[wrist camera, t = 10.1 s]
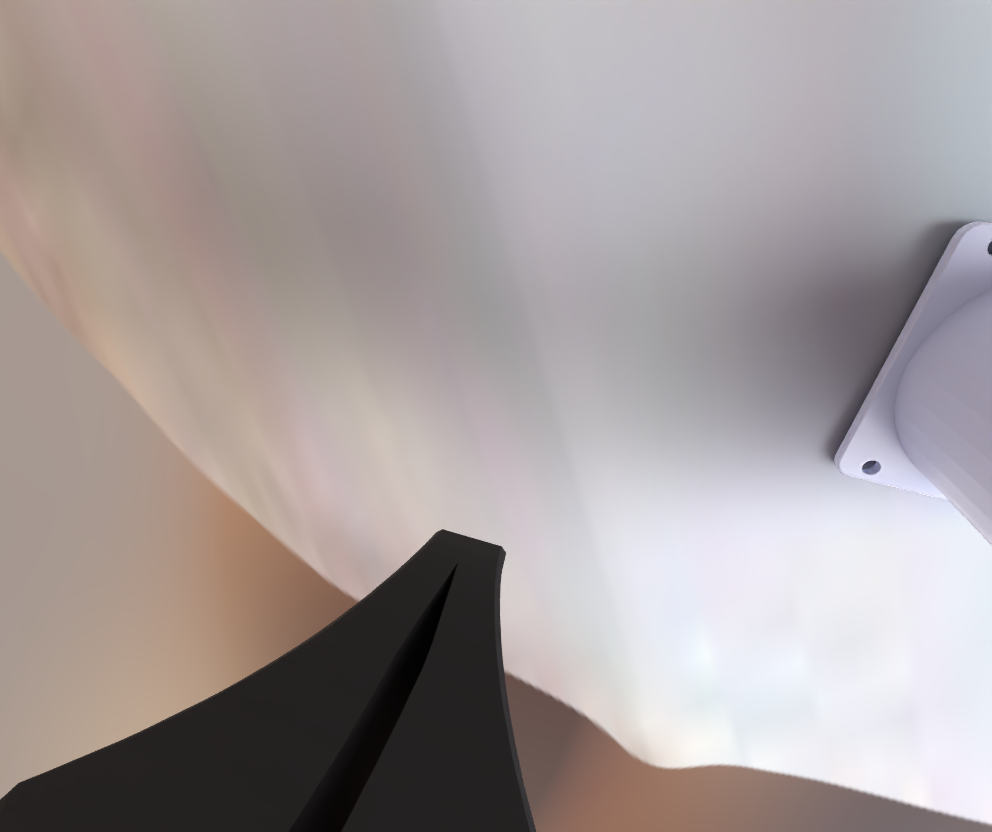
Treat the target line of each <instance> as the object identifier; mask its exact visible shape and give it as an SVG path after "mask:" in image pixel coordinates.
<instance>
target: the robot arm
mask: <svg viewBox="0 0 992 832" xmlns="http://www.w3.org/2000/svg"><path fill="white" fill-rule="evenodd" d="M991 241H992V223H988V222H972V223H969V224H966V225H964V226H963V227H961V228H960V229H958V230H957V232H956V233H955V234H954V235H953V237H952V238H951V240H950V242H949V244H948V246H947V248H946V250H945V251H944V253H943V255H942V257H941V259H940V261H939V263H938V264H937V266H936V268H935V270H934V272H933V274H932V276H931V278H930V279H929V281H928V283H927V285H926V287H925V289H924V291H923V292H922V294H921V296H920V298H919V300H918V302H917V304H916V305H915V307H914V309H913V311H912V313H911V315H910V317H909V319H908V320H907V322H906V324H905V326H904V328H903V330H902V332H901V333H900V335H899V337H898V339H897V341H896V343H895V345H894V347H893V348H892V350H891V352H890V354H889V356H888V358H887V360H886V361H885V363H884V365H883V367H882V369H881V371H880V373H879V374H878V376H877V378H876V380H875V382H874V384H873V386H872V388H871V389H870V391H869V393H868V395H867V397H866V399H865V401H864V402H863V404H862V406H861V408H860V410H859V412H858V414H857V415H856V417H855V419H854V421H853V423H852V425H851V427H850V429H849V430H848V432H847V434H846V436H845V438H844V440H843V442H842V443H841V445H840V447H839V449H838V451H837V453H836V455H835V458H834V461H835V465H836V466H837V468H838V469H839V470H840V472H841V473H843V474H845V475H847V476H851V477H855V478H859V479H863V480H867V481H871V482H875V483H879V484H882V485H886V486H890V487H894V488H898V489H902V490H906V491H910V492H914V493H918V494H922V495H926V496H930V497H934V498H938V499H942V500H946V501H950V502H951V503H952V505H953V506H954V507H955V508H956V509H957V510H958V511H959V512H960V513H961V514H962V515H963V516H964V517H965V518H966V519H967V520H968V521H969V522H970V523H971V524H972V525H973V527H974V528H975V529H976V530H977V531H978V532H979V533H980V534H981V535H982V536H983V537H984V538H985V539H986V540H987V541H988V542H989V543H990V544H991V545H992V254H989V253H988V250H987V249H988V245H989V243H990V242H991ZM868 461H876V463H875V465H874V466H873V467H871V468H868V469H863V468H862V466H863V465H864V464H865V463H866V462H868ZM505 556H506V552H505V551H504V549H503V548H502V546H498V545H495V544H491V543H488V542H484V541H481V540H477V539H474V538H471V537H467V536H464V535H460V534H457V533H453V532H450V531H447V530H443V529H442V530H440V531H438V532H436V533H435V534H434V535H433V537H432V538H431V539H430V540H429V541H428V542H427V543H426V544H425V545H424V546H423V547H422V548H421V549H420V550H419V551H418V552H417V553H416V554H414V555H413V556H412V557H411V558H410V559H409V560H408V561H407V562H406V563H405V564H404V565H403V566H401V567H400V568H399V569H398V570H397V571H396V572H395V573H393V574H392V575H391V576H390V577H389V578H388V579H386V580H385V581H384V582H383V583H382V584H380V585H379V586H378V587H377V588H376V589H375V590H373V591H372V592H371V593H370V594H369V595H367V596H366V597H365V598H364V599H362V600H361V601H360V602H358V603H357V604H356V605H354V606H353V607H352V608H350V609H349V610H348V611H346V612H345V613H344V614H342V615H341V616H340V617H338V618H337V619H336V620H335V621H333V622H332V623H331V624H329V625H328V626H326V627H325V628H323V629H322V630H321V631H319V632H318V633H317V634H315V635H313V636H312V637H310V638H309V639H308V640H306V641H305V642H303V643H301V644H300V645H298V646H297V647H295V648H294V649H292V650H291V651H289V652H287V653H286V654H284V655H283V656H281V657H280V658H278V659H276V660H275V661H273V662H271V663H270V664H268V665H266V666H265V667H263V668H261V669H259V670H258V671H256V672H254V673H253V674H251V675H249V676H247V677H246V678H244V679H242V680H241V681H239V682H237V683H235V684H234V685H232V686H230V687H228V688H226V689H224V690H223V691H221V692H219V693H217V694H215V695H213V696H211V697H209V698H208V699H206V700H204V701H202V702H200V703H198V704H196V705H193V706H191V707H189V708H187V709H185V710H183V711H181V712H179V713H177V714H175V715H173V716H171V717H169V718H167V719H165V720H163V721H161V722H159V723H157V724H155V725H153V726H151V727H149V728H147V729H145V730H143V731H141V732H138V733H136V734H134V735H132V736H129V737H127V738H125V739H123V740H121V741H119V742H116V743H114V744H111V745H109V746H107V747H104V748H102V749H100V750H97V751H95V752H92V753H90V754H88V755H85V756H83V757H80V758H78V759H76V760H73V761H71V762H69V763H66V764H64V765H62V766H59V767H57V768H54V769H52V770H50V771H47V772H45V773H42V774H40V775H37V776H35V777H32V778H30V779H28V780H25V781H22V782H20V783H18V784H17V785H16V786H15V787H14V788H13V789H12V790H11V791H9V792H8V794H6V795H5V796H4V797H3V798H2V799H1V800H0V832H536V829H535V825H534V821H533V818H532V814H531V810H530V806H529V803H528V799H527V795H526V791H525V787H524V783H523V778H522V774H521V769H520V764H519V759H518V755H517V750H516V745H515V740H514V734H513V729H512V724H511V718H510V712H509V706H508V699H507V692H506V684H505V676H504V667H503V658H502V646H501V627H500V584H501V574H502V569H503V564H504V560H505Z"/></svg>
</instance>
